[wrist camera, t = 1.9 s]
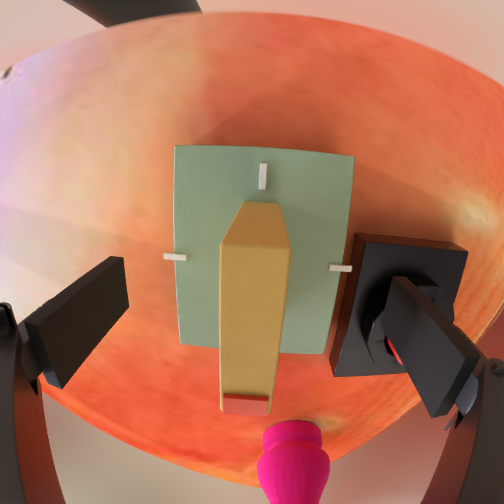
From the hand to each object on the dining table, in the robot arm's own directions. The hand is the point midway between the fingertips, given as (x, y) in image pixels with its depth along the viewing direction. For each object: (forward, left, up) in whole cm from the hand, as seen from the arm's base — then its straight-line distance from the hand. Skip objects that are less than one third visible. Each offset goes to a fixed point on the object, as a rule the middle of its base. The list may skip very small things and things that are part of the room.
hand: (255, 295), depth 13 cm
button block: (+4, +11, -7) cm, 13 cm away
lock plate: (0, 0, -7) cm, 7 cm away
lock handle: (0, 0, -4) cm, 4 cm away
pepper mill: (+21, +5, -7) cm, 23 cm away
